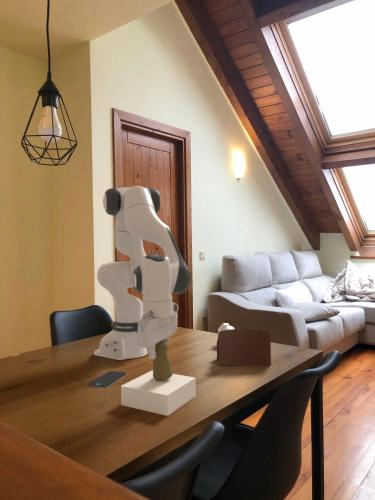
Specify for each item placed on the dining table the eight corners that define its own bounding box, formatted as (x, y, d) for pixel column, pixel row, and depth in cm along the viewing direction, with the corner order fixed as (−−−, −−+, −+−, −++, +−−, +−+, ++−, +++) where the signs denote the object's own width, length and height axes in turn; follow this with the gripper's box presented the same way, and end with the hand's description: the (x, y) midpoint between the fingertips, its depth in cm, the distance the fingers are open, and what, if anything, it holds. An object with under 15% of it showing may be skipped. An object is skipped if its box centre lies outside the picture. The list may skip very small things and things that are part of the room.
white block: (121, 406, 120) (120, 385, 120) (152, 388, 134) (152, 370, 134) (167, 417, 112) (167, 395, 112) (195, 397, 126) (195, 377, 126)
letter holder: (271, 365, 155) (270, 328, 155) (218, 366, 155) (218, 329, 155) (266, 358, 165) (265, 322, 164) (216, 358, 165) (216, 323, 165)
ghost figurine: (225, 341, 191) (225, 320, 191) (242, 345, 184) (241, 323, 184) (212, 345, 185) (212, 323, 184) (229, 349, 178) (229, 326, 178)
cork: (170, 380, 122) (165, 347, 119) (150, 380, 123) (145, 347, 120) (174, 369, 127) (170, 337, 125) (155, 369, 129) (151, 337, 126)
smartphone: (85, 384, 136) (109, 370, 150) (85, 386, 136) (109, 372, 150) (105, 386, 134) (128, 372, 148) (105, 389, 134) (128, 374, 148)
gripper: (151, 315, 111) (152, 366, 112) (180, 304, 130) (181, 347, 131) (130, 314, 114) (132, 364, 114) (162, 303, 133) (163, 345, 133)
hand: (158, 355), depth 123 cm, fingers open, 6 cm apart
